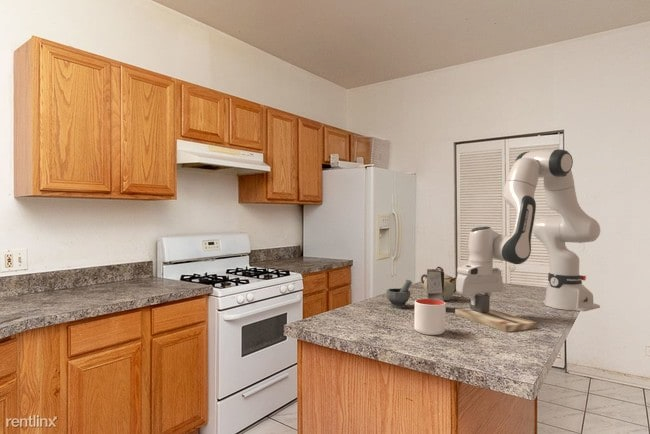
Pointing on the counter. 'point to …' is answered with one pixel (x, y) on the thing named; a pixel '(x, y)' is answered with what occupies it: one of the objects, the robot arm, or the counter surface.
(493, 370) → the counter surface
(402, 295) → the mortar and pestle
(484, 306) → the fader
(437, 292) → the coffee box
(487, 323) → the fader panel
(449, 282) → the sugar bowl
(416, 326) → the cup
